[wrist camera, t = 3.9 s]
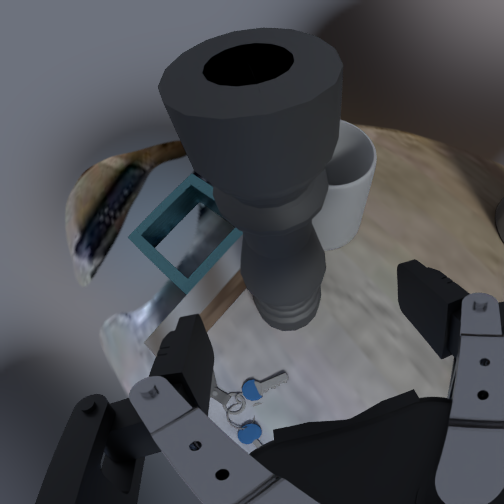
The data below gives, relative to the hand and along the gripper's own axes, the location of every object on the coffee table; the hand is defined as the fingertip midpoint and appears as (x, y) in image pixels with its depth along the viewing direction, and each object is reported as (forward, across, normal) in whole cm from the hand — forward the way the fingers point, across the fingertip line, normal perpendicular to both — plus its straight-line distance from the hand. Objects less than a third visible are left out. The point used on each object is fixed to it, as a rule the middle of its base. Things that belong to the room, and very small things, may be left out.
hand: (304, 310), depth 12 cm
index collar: (+23, +8, +2) cm, 25 cm away
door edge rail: (+18, +6, +7) cm, 21 cm away
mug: (+24, -7, +2) cm, 25 cm away
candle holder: (+17, 0, +9) cm, 19 cm away
